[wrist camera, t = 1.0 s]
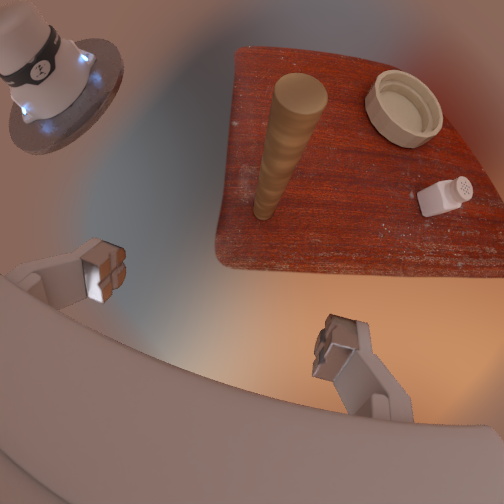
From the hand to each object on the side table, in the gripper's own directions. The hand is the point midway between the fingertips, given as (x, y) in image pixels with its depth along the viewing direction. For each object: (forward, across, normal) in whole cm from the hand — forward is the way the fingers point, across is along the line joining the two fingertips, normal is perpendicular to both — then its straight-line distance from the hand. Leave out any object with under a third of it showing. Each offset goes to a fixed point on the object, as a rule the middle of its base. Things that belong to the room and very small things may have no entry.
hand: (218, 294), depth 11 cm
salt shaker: (+35, -22, +1) cm, 41 cm away
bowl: (+42, -15, -11) cm, 46 cm away
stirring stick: (+27, +2, +7) cm, 28 cm away
